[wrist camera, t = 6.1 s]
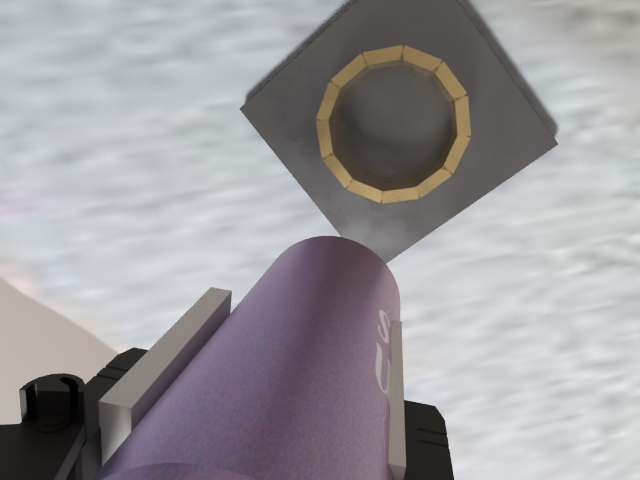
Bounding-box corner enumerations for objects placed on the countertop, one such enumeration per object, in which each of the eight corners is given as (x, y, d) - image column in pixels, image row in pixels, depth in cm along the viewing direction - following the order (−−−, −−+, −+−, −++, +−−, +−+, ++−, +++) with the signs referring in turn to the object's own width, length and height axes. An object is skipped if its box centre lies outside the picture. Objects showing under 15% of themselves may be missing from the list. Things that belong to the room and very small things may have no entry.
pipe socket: (244, 108, 36) (222, 109, 31) (417, -49, 31) (420, -75, 26) (371, 268, 38) (368, 290, 33) (552, 142, 33) (577, 148, 28)
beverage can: (253, 244, 21) (-71, 537, 7) (385, 220, 19) (343, 519, 5) (285, 362, 22) (75, 820, 8) (411, 347, 21) (431, 862, 7)
